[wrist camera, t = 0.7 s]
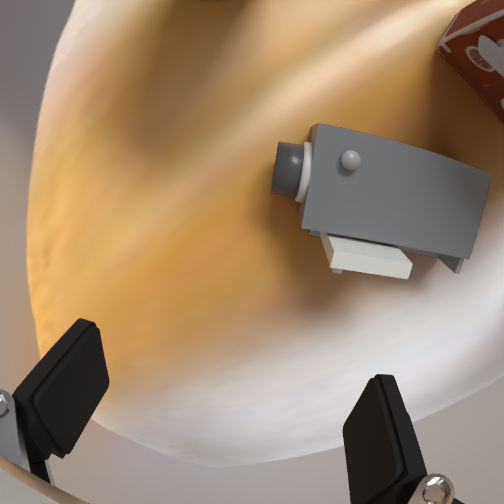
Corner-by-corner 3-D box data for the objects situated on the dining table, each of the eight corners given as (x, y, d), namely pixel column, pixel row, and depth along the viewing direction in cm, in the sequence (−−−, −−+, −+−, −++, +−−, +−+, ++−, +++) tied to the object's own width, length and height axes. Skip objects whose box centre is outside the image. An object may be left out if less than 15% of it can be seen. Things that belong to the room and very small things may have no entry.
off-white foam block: (384, 233, 30) (412, 264, 22) (379, 252, 31) (404, 287, 23) (322, 221, 30) (334, 250, 23) (317, 241, 31) (327, 276, 24)
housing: (462, 166, 27) (495, 175, 21) (439, 256, 31) (465, 280, 25) (281, 121, 28) (281, 116, 22) (266, 226, 32) (262, 248, 26)
